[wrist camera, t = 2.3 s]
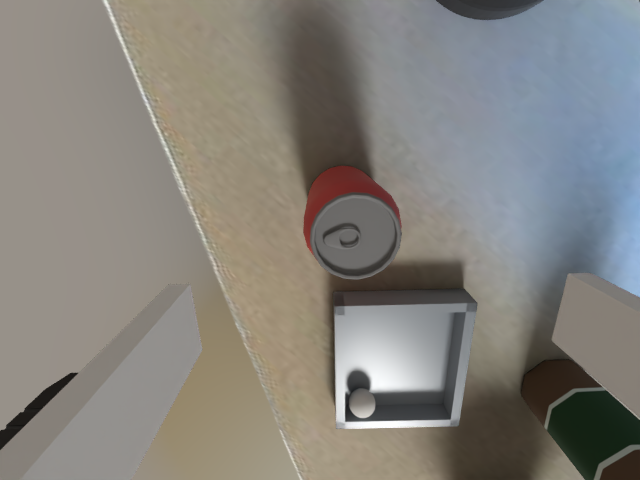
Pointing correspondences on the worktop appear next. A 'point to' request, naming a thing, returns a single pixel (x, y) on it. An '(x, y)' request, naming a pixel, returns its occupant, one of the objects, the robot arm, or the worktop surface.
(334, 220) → the beer can
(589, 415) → the beer bottle
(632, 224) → the worktop surface
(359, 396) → the ball
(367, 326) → the tray
